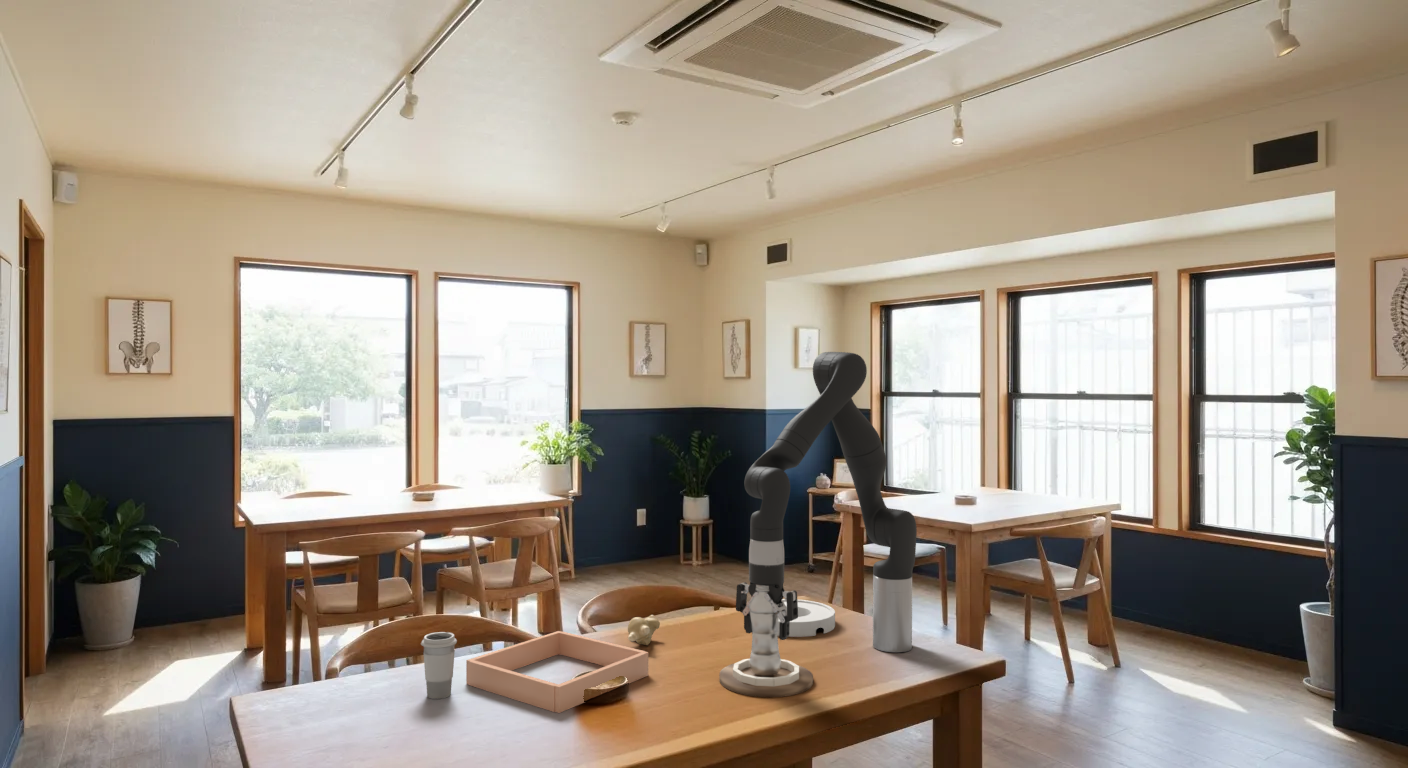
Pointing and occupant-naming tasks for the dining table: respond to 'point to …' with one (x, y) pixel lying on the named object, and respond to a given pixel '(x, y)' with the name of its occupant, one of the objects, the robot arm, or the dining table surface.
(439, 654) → the cup
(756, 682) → the ring
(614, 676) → the peach open square frame
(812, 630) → the white round disc base
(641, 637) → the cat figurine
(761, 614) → the plastic bottle
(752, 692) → the round tan coaster
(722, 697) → the dining table surface
